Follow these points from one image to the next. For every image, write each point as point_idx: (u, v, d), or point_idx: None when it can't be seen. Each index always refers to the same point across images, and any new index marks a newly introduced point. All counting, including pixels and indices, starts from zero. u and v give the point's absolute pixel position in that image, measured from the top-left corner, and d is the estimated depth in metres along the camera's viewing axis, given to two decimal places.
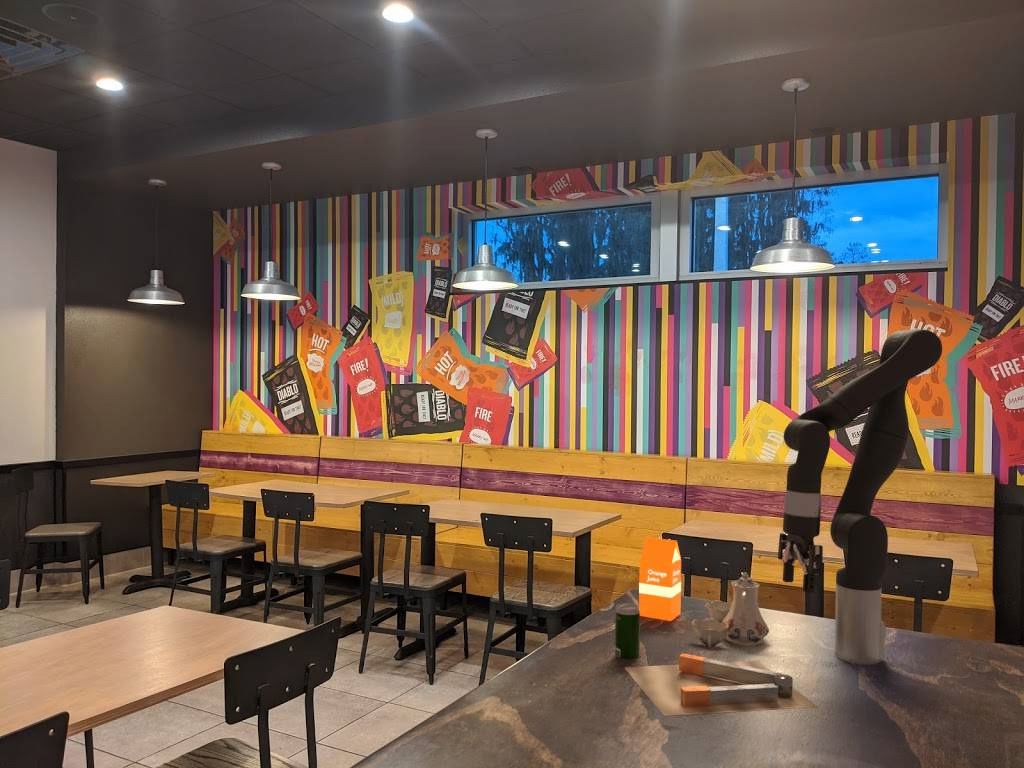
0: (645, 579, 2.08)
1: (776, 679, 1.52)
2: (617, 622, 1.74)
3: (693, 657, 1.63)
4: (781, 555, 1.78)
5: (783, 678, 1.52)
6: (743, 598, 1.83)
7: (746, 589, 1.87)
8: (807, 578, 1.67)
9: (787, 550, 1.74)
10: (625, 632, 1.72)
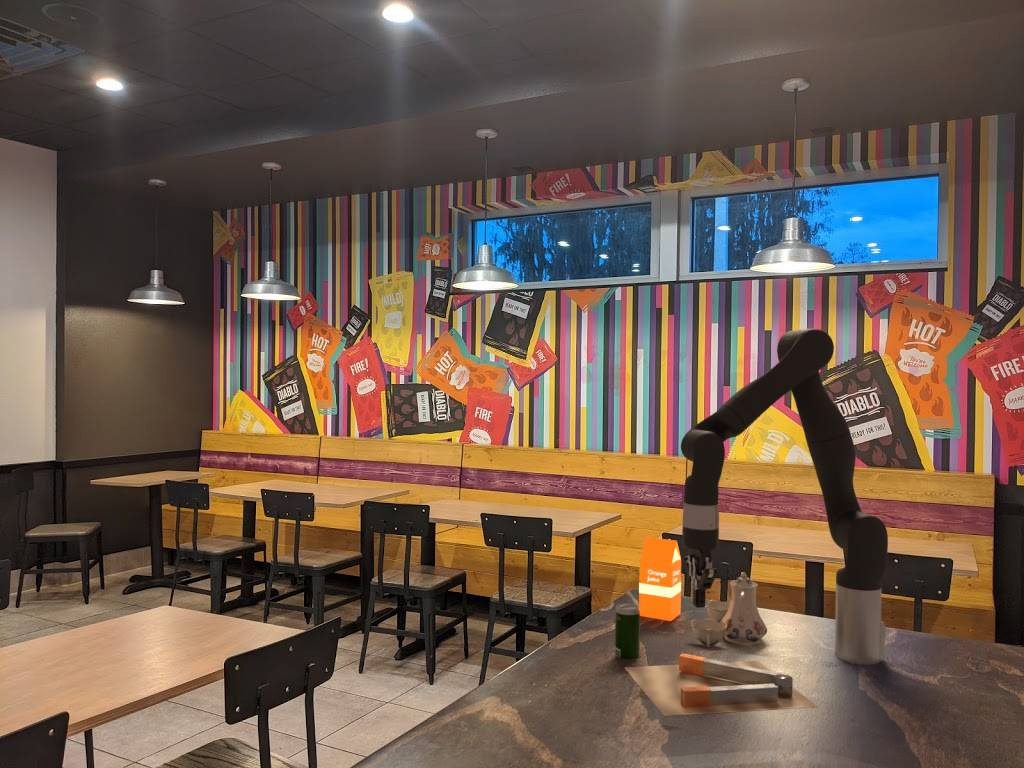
0: (645, 579, 2.08)
1: (776, 679, 1.52)
2: (617, 622, 1.74)
3: (693, 657, 1.63)
4: None
5: (783, 678, 1.52)
6: (742, 598, 1.84)
7: (744, 589, 1.87)
8: (697, 593, 1.67)
9: (690, 566, 1.69)
10: (625, 632, 1.72)
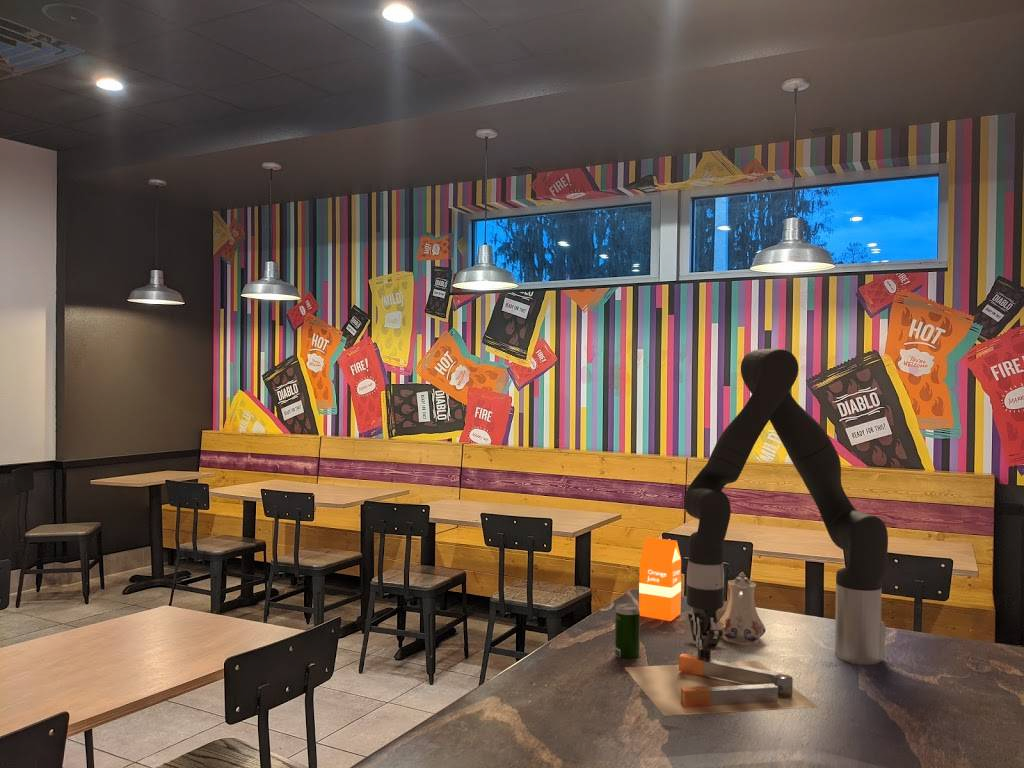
0: (645, 579, 2.08)
1: (776, 679, 1.52)
2: (617, 622, 1.74)
3: (693, 657, 1.63)
4: (696, 636, 1.67)
5: (783, 678, 1.52)
6: (740, 598, 1.84)
7: (743, 589, 1.88)
8: (702, 653, 1.64)
9: (695, 625, 1.66)
10: (625, 632, 1.72)
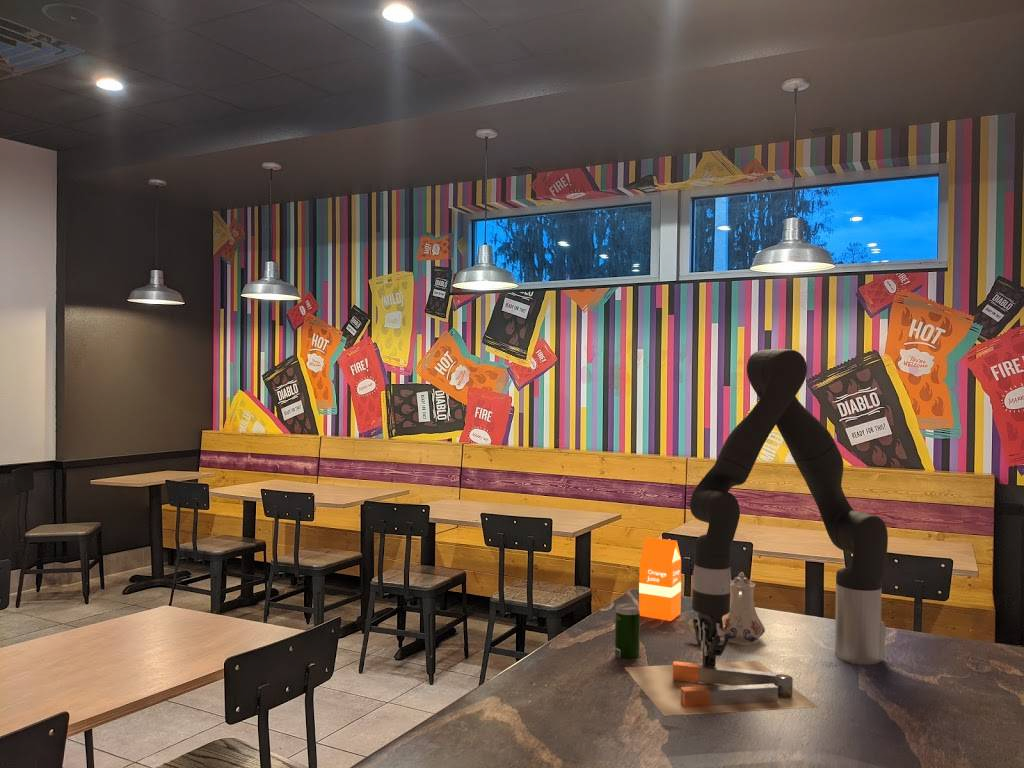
0: (645, 579, 2.08)
1: (777, 680, 1.52)
2: (617, 622, 1.74)
3: (687, 664, 1.59)
4: (701, 642, 1.63)
5: (784, 678, 1.52)
6: (739, 598, 1.84)
7: (742, 589, 1.88)
8: (707, 659, 1.60)
9: (700, 630, 1.62)
10: (625, 632, 1.72)
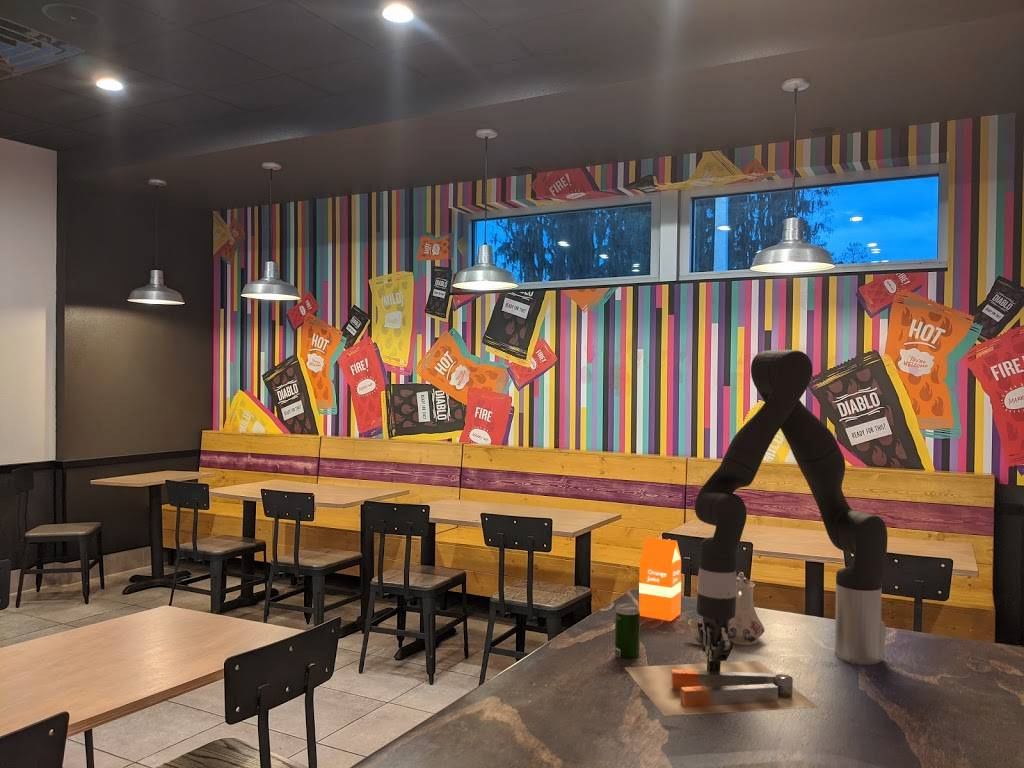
0: (645, 579, 2.08)
1: (779, 680, 1.52)
2: (617, 622, 1.74)
3: (686, 672, 1.55)
4: (705, 647, 1.60)
5: (785, 679, 1.52)
6: (739, 598, 1.84)
7: (742, 589, 1.88)
8: (712, 665, 1.57)
9: (704, 635, 1.59)
10: (625, 632, 1.72)
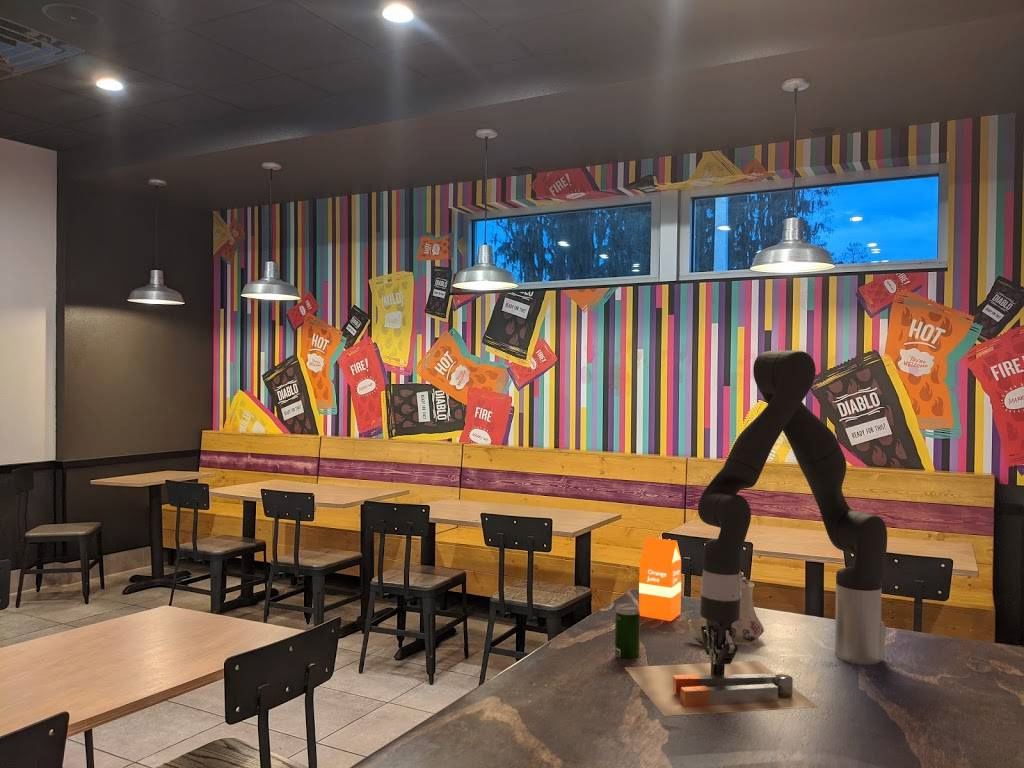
0: (645, 579, 2.08)
1: (780, 681, 1.52)
2: (617, 622, 1.74)
3: (688, 677, 1.53)
4: (709, 650, 1.58)
5: (786, 679, 1.52)
6: None
7: (741, 588, 1.88)
8: (716, 668, 1.55)
9: (708, 638, 1.57)
10: (625, 632, 1.72)
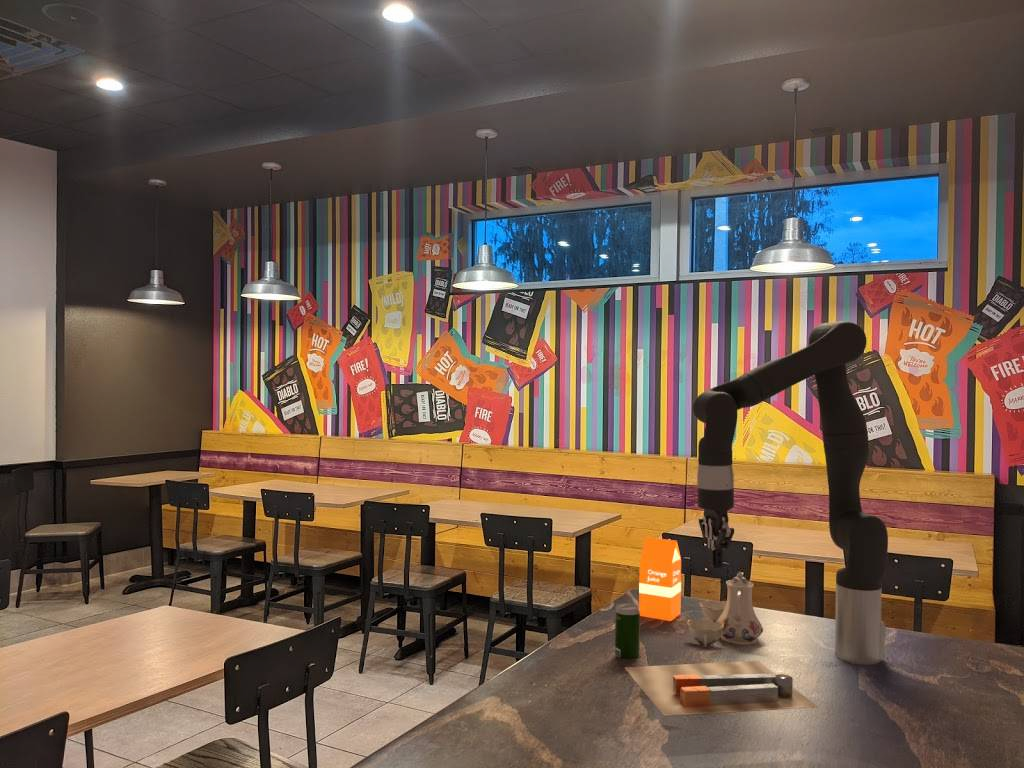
0: (645, 579, 2.08)
1: (780, 681, 1.52)
2: (617, 622, 1.74)
3: (688, 677, 1.53)
4: (707, 539, 1.71)
5: (786, 679, 1.52)
6: (738, 597, 1.84)
7: (741, 588, 1.88)
8: (715, 554, 1.68)
9: (706, 527, 1.69)
10: (625, 632, 1.72)
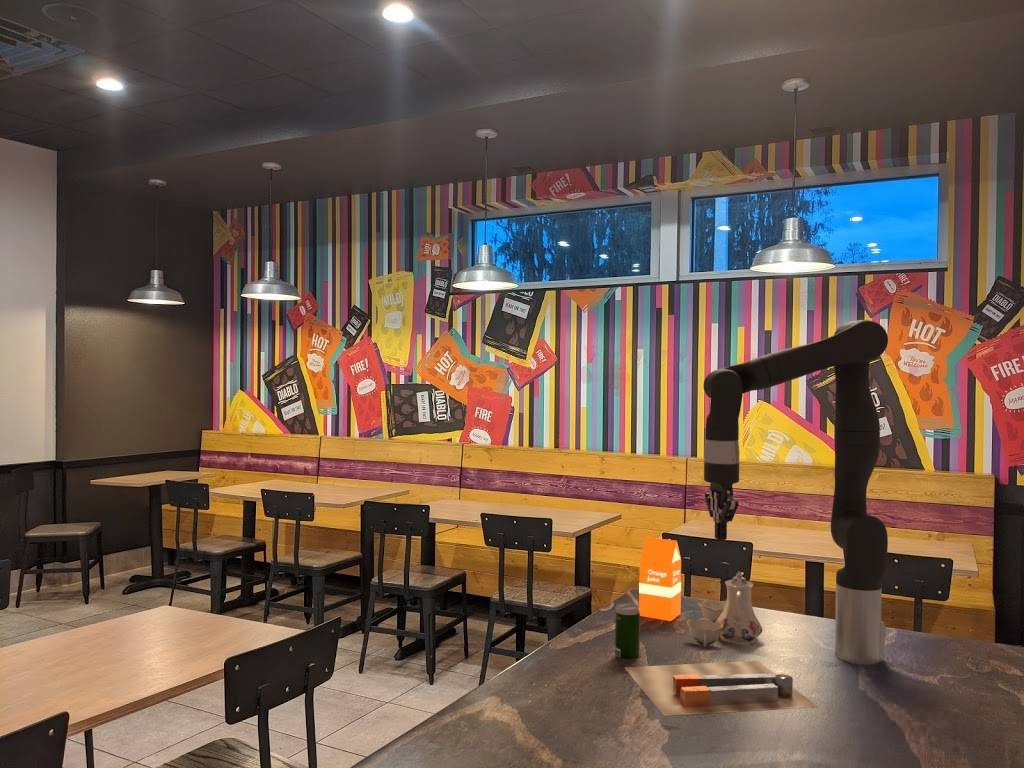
0: (645, 579, 2.08)
1: (780, 681, 1.52)
2: (617, 622, 1.74)
3: (688, 677, 1.53)
4: (712, 512, 1.77)
5: (786, 679, 1.52)
6: (738, 597, 1.84)
7: (740, 588, 1.88)
8: (719, 526, 1.74)
9: (712, 500, 1.75)
10: (625, 632, 1.72)
